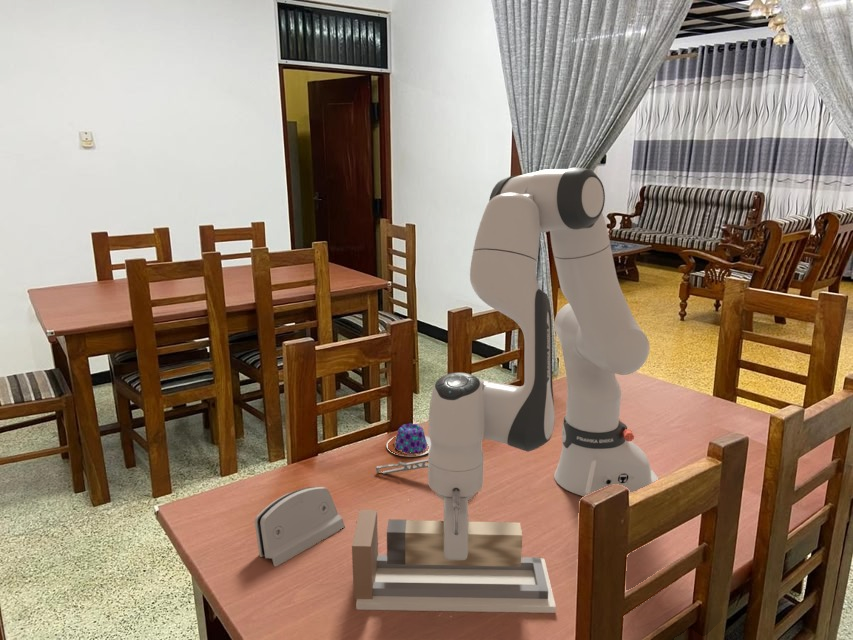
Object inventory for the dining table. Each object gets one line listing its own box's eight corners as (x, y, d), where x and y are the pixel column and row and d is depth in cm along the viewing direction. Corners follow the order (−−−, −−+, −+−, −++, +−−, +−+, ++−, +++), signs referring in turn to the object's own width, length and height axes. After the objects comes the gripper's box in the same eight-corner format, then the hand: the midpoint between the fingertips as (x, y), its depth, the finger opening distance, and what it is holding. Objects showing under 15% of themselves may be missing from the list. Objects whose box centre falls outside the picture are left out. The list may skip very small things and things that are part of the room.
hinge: (274, 567, 112) (259, 513, 112) (260, 564, 116) (246, 512, 115) (346, 526, 124) (333, 477, 124) (332, 524, 128) (319, 476, 127)
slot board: (543, 564, 113) (547, 509, 110) (555, 612, 102) (559, 553, 99) (362, 561, 114) (360, 506, 111) (353, 609, 103) (350, 550, 99)
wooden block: (518, 553, 108) (519, 521, 106) (520, 566, 105) (522, 534, 103) (389, 550, 108) (388, 519, 107) (387, 564, 105) (386, 532, 103)
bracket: (478, 478, 138) (458, 439, 136) (393, 507, 144) (373, 470, 142) (480, 471, 141) (460, 432, 139) (397, 499, 147) (377, 463, 145)
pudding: (395, 463, 149) (395, 442, 147) (380, 441, 159) (379, 421, 158) (442, 454, 153) (443, 434, 151) (424, 433, 164) (424, 414, 162)
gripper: (478, 511, 92) (476, 591, 96) (472, 444, 112) (470, 513, 115) (435, 510, 92) (434, 590, 96) (436, 444, 112) (436, 512, 116)
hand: (454, 547), depth 106 cm, fingers closed on wooden block, 3 cm apart
